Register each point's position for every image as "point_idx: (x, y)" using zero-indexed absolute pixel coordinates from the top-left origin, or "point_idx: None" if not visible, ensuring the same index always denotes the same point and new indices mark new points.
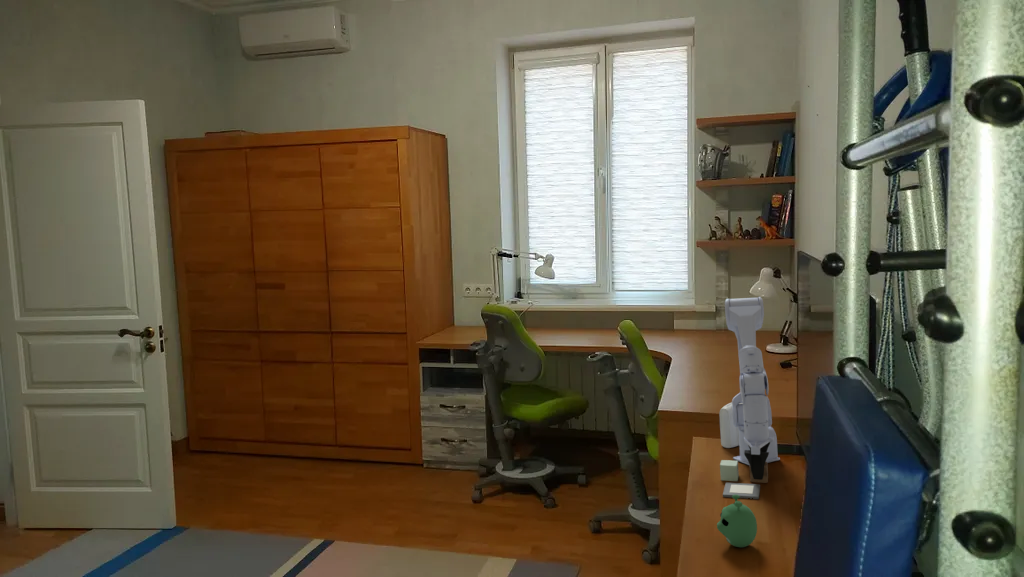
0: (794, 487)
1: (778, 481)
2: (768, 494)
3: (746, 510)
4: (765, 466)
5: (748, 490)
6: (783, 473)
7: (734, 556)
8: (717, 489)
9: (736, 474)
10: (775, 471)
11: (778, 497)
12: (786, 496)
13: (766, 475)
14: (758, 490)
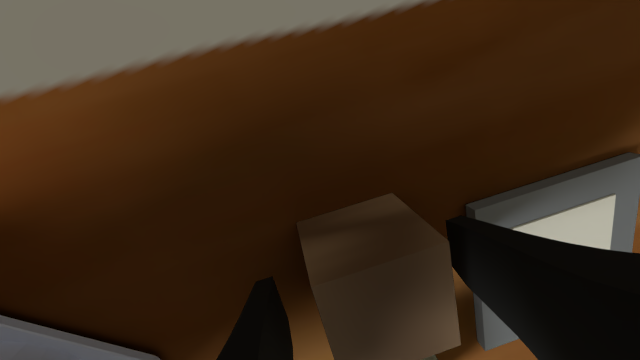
0: (421, 10)
1: (346, 142)
2: (561, 128)
3: None
4: (431, 256)
5: (578, 226)
6: (174, 161)
7: None
8: None
9: (435, 357)
10: (163, 221)
11: (597, 63)
12: (578, 21)
13: (413, 215)
14: (563, 185)
